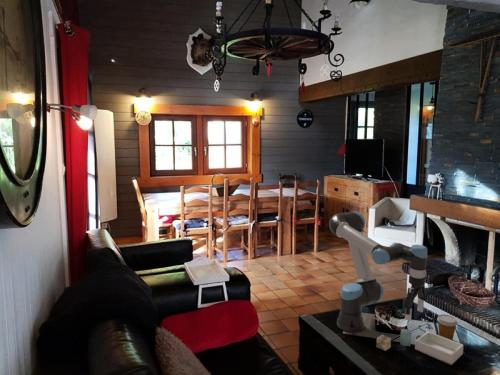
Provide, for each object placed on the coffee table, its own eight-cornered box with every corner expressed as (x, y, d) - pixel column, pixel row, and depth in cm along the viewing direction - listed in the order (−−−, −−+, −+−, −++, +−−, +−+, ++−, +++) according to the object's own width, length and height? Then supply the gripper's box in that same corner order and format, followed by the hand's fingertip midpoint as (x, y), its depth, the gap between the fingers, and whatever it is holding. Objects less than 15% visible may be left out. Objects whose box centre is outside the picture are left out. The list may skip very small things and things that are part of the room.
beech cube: (376, 347, 198) (376, 337, 197) (381, 343, 201) (382, 334, 200) (385, 351, 194) (385, 341, 193) (390, 347, 197) (391, 338, 197)
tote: (414, 349, 195) (415, 340, 194) (427, 340, 204) (427, 331, 203) (451, 365, 182) (452, 355, 181) (462, 354, 191) (463, 344, 190)
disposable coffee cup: (458, 345, 199) (460, 323, 197) (438, 343, 201) (439, 321, 199) (452, 335, 208) (454, 314, 206) (433, 334, 210) (435, 313, 208)
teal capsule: (398, 343, 200) (399, 331, 199) (403, 340, 204) (403, 328, 203) (407, 347, 197) (408, 335, 196) (412, 344, 200) (413, 331, 199)
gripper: (413, 285, 182) (410, 326, 186) (435, 271, 199) (432, 310, 202) (398, 280, 188) (395, 321, 191) (420, 267, 204) (417, 305, 208)
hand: (414, 315), depth 197 cm, fingers open, 13 cm apart
